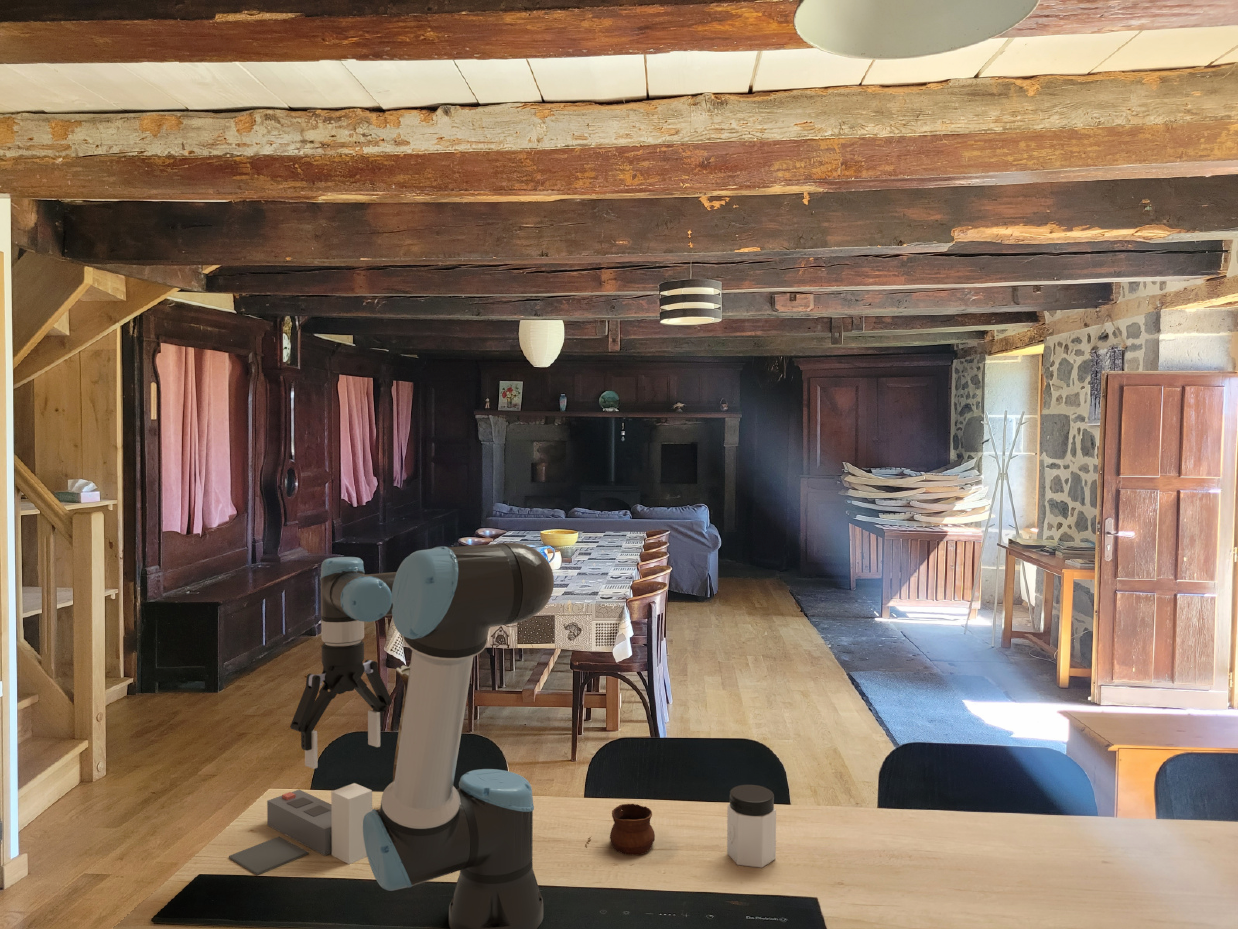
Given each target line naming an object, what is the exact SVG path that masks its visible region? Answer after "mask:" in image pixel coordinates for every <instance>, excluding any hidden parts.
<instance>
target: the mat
mask: <svg viewBox="0 0 1238 929" xmlns="http://www.w3.org/2000/svg"><path fill="white" fill-rule="evenodd" d="M307 855H309V851H308V850H306V849H304V848H302V847H300V846H299V845H296V844H294V843H293V842H291V841H289V840H287V839H285V838H283V837H282V836H280V835H279V836H276V837H274V838H271V839H268V840H266V841H264V842H260V843H259V844H256V845H253V846H251V847H248V848H245V849H243V850H241V851H238V852H235V853H233V854H231V855H228V858H229V859H230V860H231V861H233V862H235V863H237V865H240V866H241V867H243V868H244V869H246V870H248V871H249V872H251V873H253V874H254V875H256V876H259V875H261V874H262V875H263V874H265V873H266V872H268V871H271V870H273V869H276V868H278V867H280V866H283V865H286V864H287V863H290V862H293V861H295V860H297V859H300V858H302V857H304V856H307Z"/></svg>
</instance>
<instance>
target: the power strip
mask: <svg viewBox="0 0 1238 929" xmlns="http://www.w3.org/2000/svg"><path fill="white" fill-rule="evenodd" d="M266 804H267V806H266V807H267V808H266V810H267V813H266V816H267V819H266V820H267V824H266V825H267V826H268V827H269V828H272V829H274V830H275V831H277V832H279V833H281V834H283V835H284V836H287V837H288V838H290V839H292V840H295V841H296V842H298V843H300V844H302V845H304V846H305V847H308V848H309V849H311V850H313V851H315V852H317V853H319V854H320V855H321V856H322V855H323V856H324V857H325V856H328V855H330V854H332V844H331V832H332V804H331V803H330V802H327V801H325V800H323V799H321V798H318V797H316V796H314V795H312V794H310V793H307V792H306V791H304V790H302V789H297V790H295V791H289V792H286V793H283V794H281V795H279V796H276V797H274V798H271V799H268V800H267V801H266Z"/></svg>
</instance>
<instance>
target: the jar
mask: <svg viewBox="0 0 1238 929" xmlns="http://www.w3.org/2000/svg"><path fill="white" fill-rule="evenodd" d="M728 799H729V803H728V804H727V813H726V814H727V818H726V819H727V820H726V821H727V822H726V823H727V825H726V826H727V829H726V831H727V834H726V835H727V836H726V840H727V841H726V853H727V855H728V856H729V857H730V858H731V859H732V861H734V863H735V864H736V865H737V866H743V867H744V866H745V867H751V868H752V867H753V868H761V869H762V868H764V867H766V866H767V865H768V864H770V863H771V862H773V861H774V860H776V858H777V857H776V854H777V853H776V852H777V851H776V850H777V847H776V846H777V835H776V834H777V809H776V808H775V807H774V806H775V803H774V802H775V795H774V792H773V791H772V790H771V789H769V788H767V787H765V786H761V785H756V784H741V785H737V786H734V787H733V788H731V790H730V791H729V797H728Z"/></svg>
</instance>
